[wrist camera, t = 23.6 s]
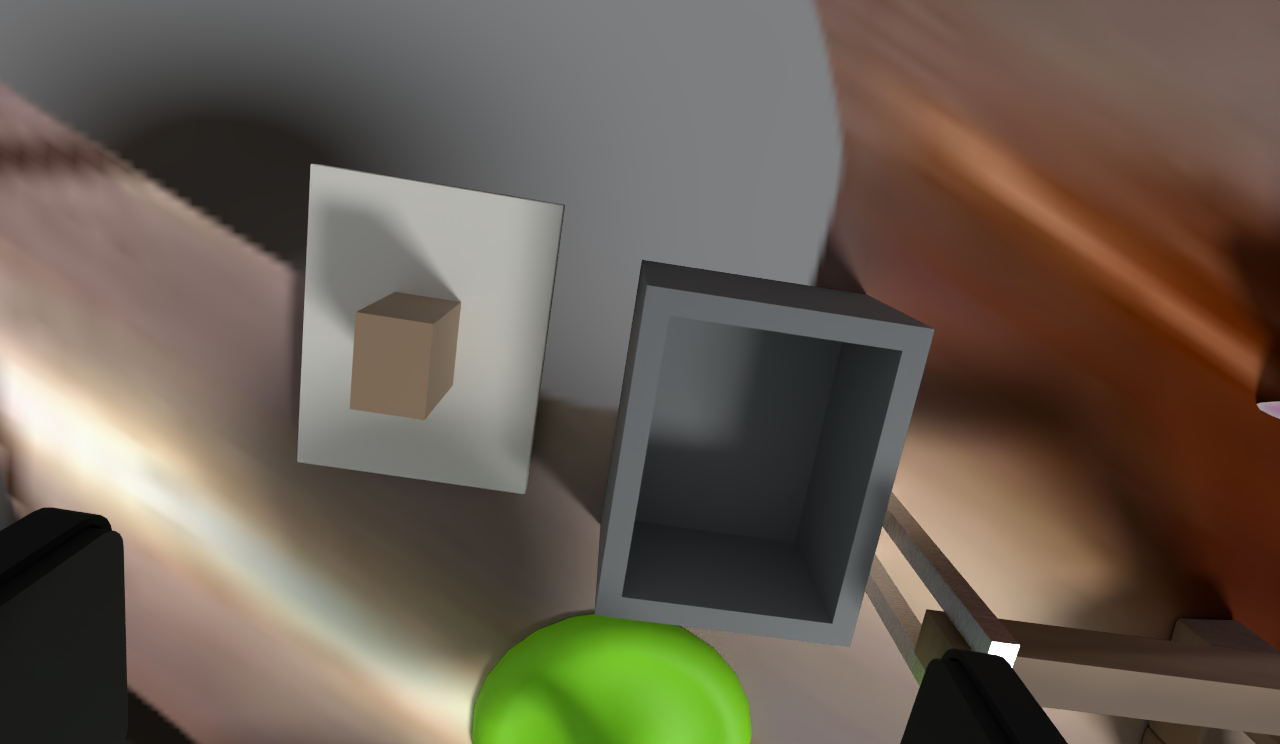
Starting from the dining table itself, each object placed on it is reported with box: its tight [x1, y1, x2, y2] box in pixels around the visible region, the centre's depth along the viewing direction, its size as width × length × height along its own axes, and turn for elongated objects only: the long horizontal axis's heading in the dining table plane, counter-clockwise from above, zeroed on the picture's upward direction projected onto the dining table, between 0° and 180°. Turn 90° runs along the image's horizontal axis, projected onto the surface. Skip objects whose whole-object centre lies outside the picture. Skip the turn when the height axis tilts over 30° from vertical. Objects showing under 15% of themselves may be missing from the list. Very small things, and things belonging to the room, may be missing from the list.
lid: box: [297, 164, 565, 494], centre depth 32 cm, size 14×11×7 cm
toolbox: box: [594, 260, 1020, 686], centre depth 31 cm, size 14×14×13 cm
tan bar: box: [914, 609, 1280, 736], centre depth 29 cm, size 2×16×2 cm, turn 81°
